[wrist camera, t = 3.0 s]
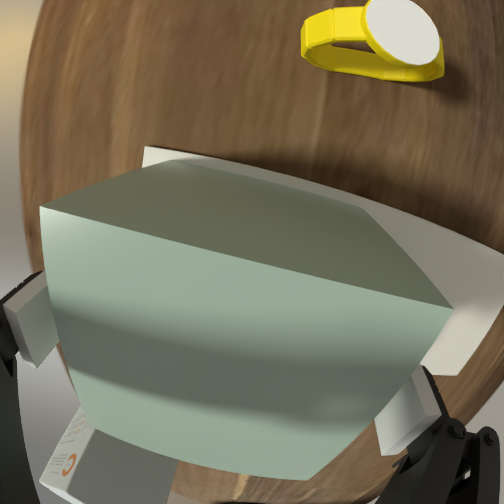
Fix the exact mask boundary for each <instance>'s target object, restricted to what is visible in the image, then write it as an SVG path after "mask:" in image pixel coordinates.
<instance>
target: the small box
mask: <svg viewBox="0 0 504 504" xmlns="http://www.w3.org/2000/svg"><path fill="white" fill-rule="evenodd" d="M177 463H178V459H174V458H171V457H168V456H165V455H161V454H158V453H155V452H152V451H149V450H147V449H144V448H141V447H138V446H136V445H133V444H130V443H128V442H125V441H123V440H120V439H118V438H116V437H113V436H111V435H109V434H106V433H104V432H102V431H100V430H98V429H96V428H93V427H91V426H90V424H89V422H88V419H87V417H86V415H85V412H84V410H83V408H82V405H81V406H80V407H79V409H78V411H77V412H76V414H75V416H74V418H73V419H72V421H71V423H70V424H69V426H68V428H67V430H66V431H65V433H64V435H63V436H62V438H61V440H60V442H59V443H58V445H57V447H56V449H55V451H54V453H53V455H52V457H51V458H50V460H49V462H48V464H47V466H46V468H45V470H44V472H43V474H42V476H41V478H40V480H39V482H40V483H42V484H43V485H44V486H46V487H47V488H48V489H50V490H51V491H53V492H54V493H56V494H57V495H59V496H60V497H62V498H64V499H65V500H67V501H69V502H71V503H72V504H166V503H167V500H168V496H169V492H170V489H171V485H172V481H173V478H174V474H175V471H176V467H177Z"/></svg>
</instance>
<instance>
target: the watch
mask: <svg viewBox="0 0 504 504" xmlns="http://www.w3.org/2000/svg"><path fill="white" fill-rule="evenodd" d="M336 42H367V43H368V45H369V46H370V47H371V48H372V49H373V50H374V51H375V53H376V54H374V53H369V52H364V51H359V50H353V49H347V48H340V47H334V46H332V45H329V44H332V43H336ZM301 55H302V57H304V58H305V59H306V60H307V61H308V62H309V63H311V64H312V65H314V66H317V67H320V68H323V69H326V70H329V71H335V72H342V73H349V74H356V75H361V76H367V77H372V78H377V79H380V80H387V81H401V82H408V81H409V82H422V81H432V80H434V79H437V78H440V77H442V76H443V75H444V55H443V45H442V39H441V37H440V36H439V35H438V32H437V29H436V27H435V25H434V23H433V22H432V20H431V18H430V17H429V16H428V15H427V14H426V13H425V12H424V10H423V9H421V8H420V7H419V6H417V5H416V4H415V3H413V2H412V1H410V0H369V1H368V2H367V4H366V5H365V6H364V7H341V8H334V9H333V10H332V9H329V10H326V11H323V12H321V13H318V14H316V15H314V16H311V17H309V18H308V19H306V20H305V22H304V24H303V27H302V29H301Z"/></svg>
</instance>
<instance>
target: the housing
mask: <svg viewBox="0 0 504 504" xmlns="http://www.w3.org/2000/svg"><path fill="white" fill-rule="evenodd" d="M40 222H41V237H42V248H43V257H44V265H45V272H46V279H47V285H48V291H49V296H50V301H51V306H52V311H53V316H54V320H55V324H56V328H57V332H58V336H59V340H60V344H61V347H62V351H63V354H64V357H65V361H66V364H67V367H68V370H69V373H70V376H71V379H72V382H73V384H74V387H75V390H76V393H77V395H78V398H79V400H80V403H81V405H82V408H83V410H84V412H85V415H86V417H87V419H88V422H89V424H90V426H91V427H93V428H96V429H98V430H100V431H102V432H104V433H106V434H109V435H111V436H113V437H116V438H118V439H120V440H123V441H125V442H128V443H130V444H133V445H136V446H138V447H141V448H144V449H147V450H149V451H152V452H155V453H158V454H161V455H165V456H168V457H171V458H174V459H178V460H181V461H185V462H189V463H193V464H197V465H201V466H205V467H209V468H214V469H219V470H224V471H229V472H234V473H240V474H246V475H253V476H261V477H269V478H279V479H291V480H309V479H310V478H311V477H312V476H314V475H315V474H316V473H317V472H319V471H320V470H321V469H322V468H323V467H325V466H326V465H327V464H328V463H329V462H330V461H331V460H333V459H334V458H335V457H336V456H337V455H338V454H339V453H340V452H341V451H343V450H344V449H345V448H346V447H347V446H348V445H349V444H350V443H351V442H352V441H353V440H354V439H355V438H356V437H357V436H358V435H359V434H360V433H361V432H362V431H363V430H364V429H365V428H366V427H367V426H368V425H369V424H370V423H371V422H372V421H373V420H374V418H375V417H376V416H377V415H378V414H379V413H380V412H381V411H382V410H383V408H384V407H385V406H386V405H387V404H388V403H389V402H390V400H391V399H392V398H393V397H394V396H395V394H396V393H397V392H398V391H399V389H400V388H401V387H402V386H403V384H404V383H405V382H406V381H407V379H408V378H409V377H410V375H411V374H412V373H413V371H414V370H415V369H416V367H417V366H418V365H419V363H420V362H421V361H422V359H423V358H424V356H425V355H426V353H427V352H428V350H429V349H430V348H431V346H432V345H433V343H434V341H435V340H436V338H437V337H438V335H439V334H440V332H441V331H442V329H443V327H444V326H445V324H446V322H447V321H448V319H449V317H450V316H451V314H452V312H453V310H454V309H453V307H452V306H451V305H450V304H449V302H448V301H447V300H446V299H445V297H444V296H443V295H442V294H441V292H440V291H439V290H438V289H437V288H436V286H435V285H434V284H433V283H432V282H431V280H430V279H429V278H428V277H427V276H426V275H425V273H424V272H423V271H422V270H421V269H420V268H419V267H418V265H417V264H416V263H415V262H414V261H413V260H412V259H411V258H410V257H409V255H408V254H407V253H406V252H405V251H404V250H403V249H402V248H401V247H400V246H399V245H398V244H397V243H396V241H395V240H394V239H393V238H392V237H391V236H390V235H389V234H388V233H387V232H386V231H385V230H384V229H383V228H382V227H381V226H380V225H379V224H378V223H377V222H376V221H375V220H374V219H373V218H372V217H371V216H370V215H369V214H368V213H367V212H366V211H365V210H364V209H363V208H361V207H358V206H355V205H351V204H348V203H345V202H342V201H338V200H335V199H332V198H328V197H325V196H321V195H318V194H314V193H311V192H307V191H304V190H300V189H296V188H293V187H289V186H285V185H281V184H277V183H273V182H269V181H265V180H261V179H257V178H253V177H249V176H245V175H240V174H236V173H232V172H227V171H222V170H218V169H213V168H208V167H203V166H199V165H193V164H188V163H183V162H178V161H172V160H168V161H164V162H161V163H157V164H154V165H150V166H147V167H144V168H140V169H137V170H134V171H131V172H128V173H125V174H122V175H119V176H116V177H113V178H110V179H107V180H104V181H101V182H99V183H96V184H93V185H90V186H88V187H85V188H83V189H80V190H77V191H75V192H72V193H70V194H67V195H65V196H62V197H60V198H58V199H55V200H53V201H51V202H48V203H46V204H44V205H41V206H40Z"/></svg>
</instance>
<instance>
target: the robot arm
mask: <svg viewBox="0 0 504 504" xmlns="http://www.w3.org/2000/svg"><path fill="white" fill-rule="evenodd" d="M59 341H60V340H59V336H58V332H57V328H56V324H55V320H54V316H53V311H52V306H51V301H50V296H49V291H48V285H47V279H46V272H45V270H44V271H39V272H37V273H35V274H32V275H30V276H29V277H28V278H27V279H25V280H24V281H23V283H20V284H19V285H18V286H17V288H14V289H13V290H12V291H10V292H9V293H8V294H7V295H6V296H5V297H3V298H2V299H1V300H0V504H40V501H39V498H38V495H37V492H36V488H35V485H34V482H33V478H32V474H31V471H30V467H29V462H28V458H27V453H26V448H25V443H24V438H23V431H22V424H21V417H20V408H19V398H18V385H17V384H18V383H17V360H16V357H15V354H16V353H17V352H18V351H19V352H20V354H21V356H22V359H23V361H24V362H26V363H27V364H29V365H31V366H32V367H34V368H35V369H37V368H38V367H39V365H40V364H41V363H42V362H43V360H44V359H45V358H46V357H47V356H48V354H49V353H50V352H51V351H52V349H53V348H54V347H55V346H56V345H57V343H58V342H59ZM438 391H439V390H438V388H437V385H435V381H434V379H433V376H432V374H431V373H430V372H429V371H428V369H427V368H426V367H425V366H423V365H421V364H420V363H419V365H418V366H417V367H416V369H415V370H414V371H413V373H412V374H411V375H410V377H409V378H408V379H407V381H406V382H405V383H404V384H403V386H402V387H401V388H400V389H399V391H398V392H397V393H396V394H395V396H394V397H393V398H392V399H391V400H390V402H389V403H388V404H387V405H386V406H385V407H384V408H383V410H382V411H381V412H380V413H379V414H378V415H377V416H376V417H375V418H374V420H375V425H376V429H377V434H378V439H379V444H380V450H381V455H382V456H383V455H396V454H398V453H400V452H401V451H402V450H403V449H405V448H406V447H407V450H408V454H406V455H405V456H404V457H402V458H401V459H400V460H399V461H397V462H396V463H395V464H394V465H393V466H392V467H393V468H394V467H396V466H397V465H398V464H399V466H398V468H397V470H396V471H395V473H394V475H393V476H392V478H391V480H390V481H389V483H388V484H387V486H386V488H385V489H384V491H383V492H382V494H381V495H380V497H379V498H378V500H377V501H376V503H375V504H499V493H500V444H499V438H498V435H497V433H496V431H494V429H492V428H490V427H487V426H486V427H483V428H482V429H481V430H480V431H479V432H478V433H476V434H475V433H470V432H467V431H466V428H465V427H464V425H463V424H462V423H461V422H460V421H459V420H457V419H455V418H450V417H449V414H448V412H447V409H446V407H445V404H444V402H443V399H442V397H441V395H440V392H438ZM470 470H471V472H470V476H469V477H468V478H466V479H465V478H464V476H465V474H466V473H467V472H468V471H470ZM226 504H247V503H226Z"/></svg>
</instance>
